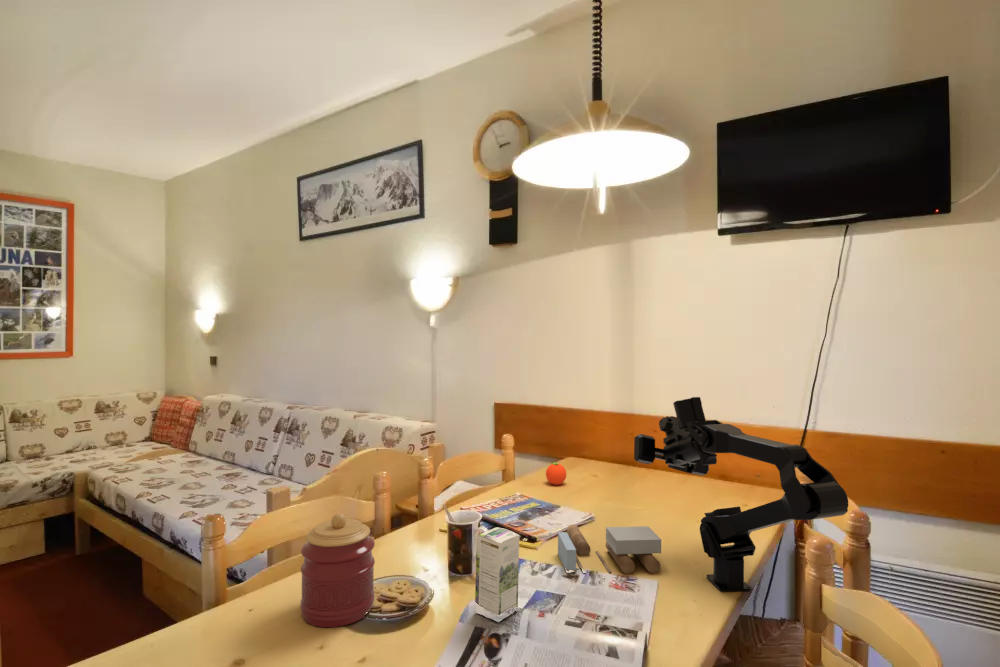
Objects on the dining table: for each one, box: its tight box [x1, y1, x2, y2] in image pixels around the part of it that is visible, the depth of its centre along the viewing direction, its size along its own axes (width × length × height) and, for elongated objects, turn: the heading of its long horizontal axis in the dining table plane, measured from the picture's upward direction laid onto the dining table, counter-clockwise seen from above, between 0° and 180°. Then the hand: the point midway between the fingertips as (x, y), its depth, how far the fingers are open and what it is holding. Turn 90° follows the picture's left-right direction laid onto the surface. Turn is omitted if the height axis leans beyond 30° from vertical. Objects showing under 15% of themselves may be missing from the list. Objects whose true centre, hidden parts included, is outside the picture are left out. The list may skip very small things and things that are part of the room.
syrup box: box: [474, 526, 520, 615], centre depth 99 cm, size 6×6×14 cm
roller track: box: [576, 540, 661, 575], centre depth 121 cm, size 12×17×3 cm
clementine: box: [545, 462, 567, 486], centre depth 182 cm, size 8×7×7 cm
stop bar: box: [557, 531, 577, 571], centre depth 120 cm, size 10×2×5 cm, turn 5°
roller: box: [566, 524, 591, 556], centre depth 130 cm, size 12×3×3 cm, turn 5°
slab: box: [605, 525, 662, 555], centre depth 121 cm, size 8×10×3 cm
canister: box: [300, 513, 376, 628], centre depth 99 cm, size 13×13×18 cm
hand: (652, 461), depth 136 cm, fingers open, 9 cm apart
